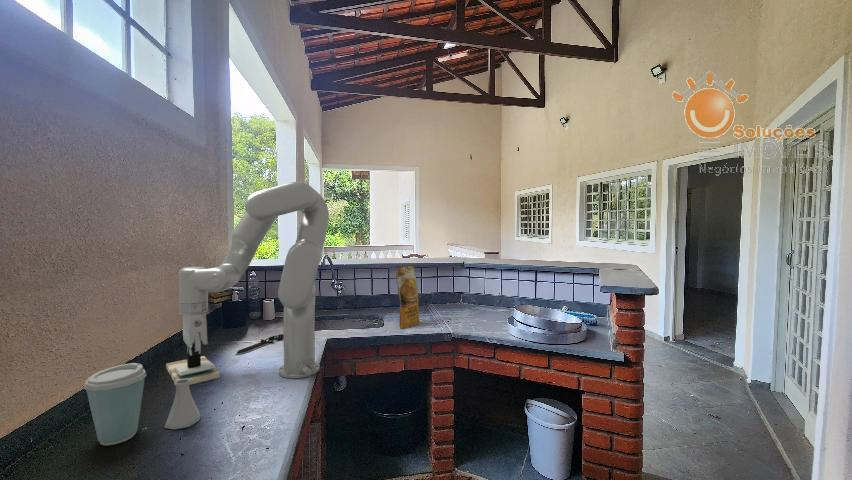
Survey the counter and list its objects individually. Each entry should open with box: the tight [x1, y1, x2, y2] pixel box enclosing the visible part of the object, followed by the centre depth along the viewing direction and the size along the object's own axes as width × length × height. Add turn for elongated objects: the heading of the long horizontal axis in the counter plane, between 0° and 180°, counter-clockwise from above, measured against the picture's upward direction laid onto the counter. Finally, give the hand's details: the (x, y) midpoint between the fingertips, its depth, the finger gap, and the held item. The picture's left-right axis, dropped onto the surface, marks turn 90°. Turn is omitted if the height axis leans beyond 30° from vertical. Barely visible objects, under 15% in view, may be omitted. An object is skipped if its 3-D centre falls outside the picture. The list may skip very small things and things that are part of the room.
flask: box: [164, 378, 202, 430], centre depth 89 cm, size 7×7×10 cm
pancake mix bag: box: [395, 265, 421, 329], centre depth 179 cm, size 7×19×28 cm, turn 151°
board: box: [165, 355, 221, 386], centre depth 119 cm, size 20×11×2 cm, turn 42°
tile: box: [175, 359, 216, 376], centre depth 116 cm, size 9×9×1 cm
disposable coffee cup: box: [84, 362, 147, 447], centre depth 83 cm, size 11×11×15 cm
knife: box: [234, 333, 284, 356], centre depth 147 cm, size 25×6×1 cm, turn 154°
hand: (193, 366), depth 115 cm, fingers closed
